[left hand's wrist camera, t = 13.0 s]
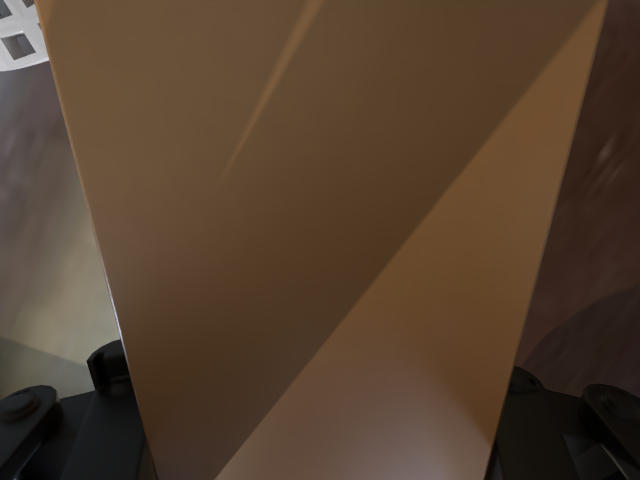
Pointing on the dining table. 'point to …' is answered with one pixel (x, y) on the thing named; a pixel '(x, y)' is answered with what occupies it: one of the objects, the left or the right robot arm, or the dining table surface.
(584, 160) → the dining table surface
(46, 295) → the dining table surface
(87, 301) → the dining table surface
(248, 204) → the bar
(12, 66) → the decorative object
